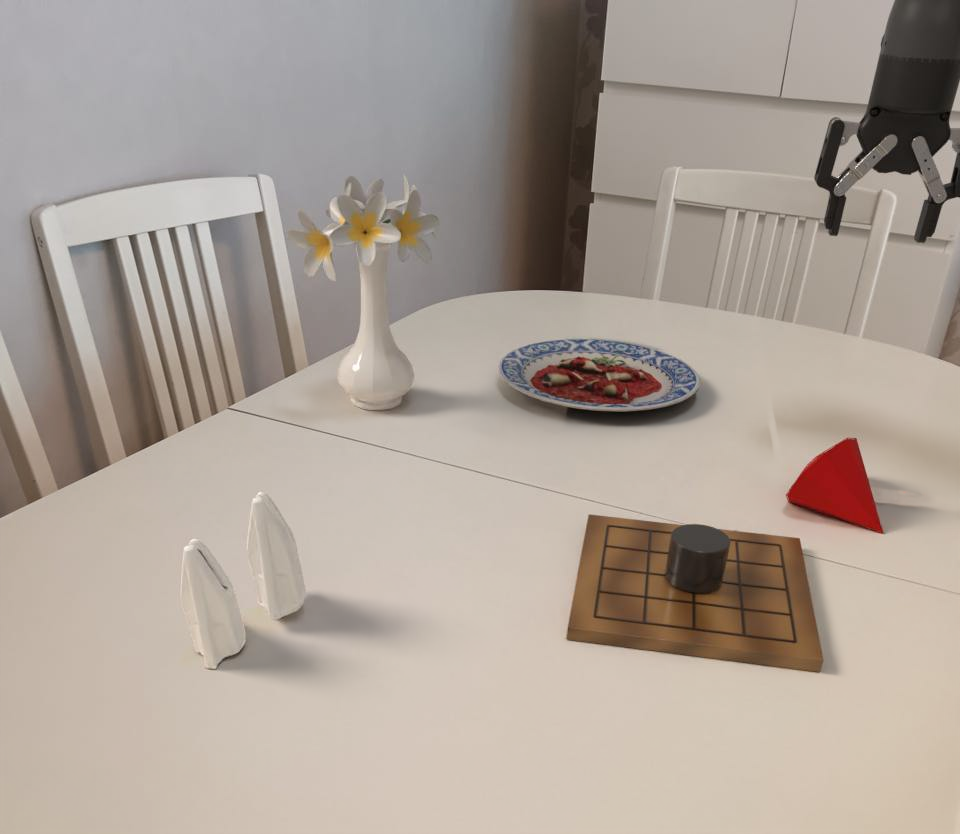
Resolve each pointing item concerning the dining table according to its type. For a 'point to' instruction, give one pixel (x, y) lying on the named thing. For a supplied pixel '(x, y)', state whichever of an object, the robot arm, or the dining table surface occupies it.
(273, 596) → the shaker set
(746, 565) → the board
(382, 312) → the flower vase
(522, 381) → the ceramic plate
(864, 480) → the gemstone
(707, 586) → the dark grey cylinder
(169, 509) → the dining table surface
